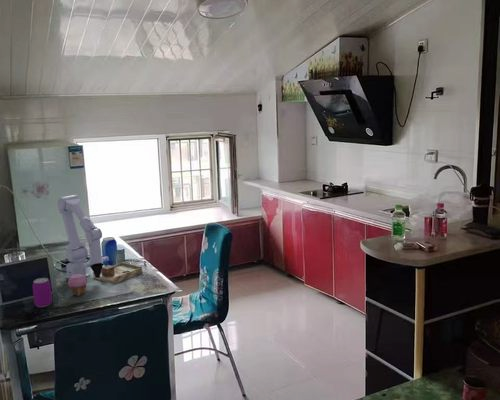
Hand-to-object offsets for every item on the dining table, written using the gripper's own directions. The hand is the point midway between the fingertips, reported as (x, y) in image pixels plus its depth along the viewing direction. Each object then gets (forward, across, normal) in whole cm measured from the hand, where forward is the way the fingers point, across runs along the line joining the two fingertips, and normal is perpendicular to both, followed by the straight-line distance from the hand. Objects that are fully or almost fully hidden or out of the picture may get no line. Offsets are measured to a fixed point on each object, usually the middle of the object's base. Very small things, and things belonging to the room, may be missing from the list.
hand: (97, 277), depth 259 cm
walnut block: (+1, +7, 0) cm, 7 cm away
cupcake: (+3, -15, -5) cm, 16 cm away
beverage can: (+3, -32, -2) cm, 32 cm away
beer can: (+3, +22, +17) cm, 28 cm away
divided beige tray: (+3, +13, 0) cm, 13 cm away
